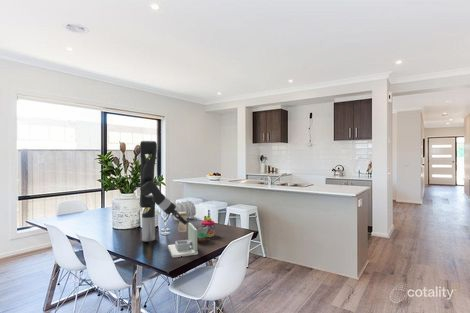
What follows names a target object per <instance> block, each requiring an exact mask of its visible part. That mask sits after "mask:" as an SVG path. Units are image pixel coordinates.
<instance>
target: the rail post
mask: <svg viewBox="0 0 470 313" xmlns="http://www.w3.org/2000/svg"><path fill="white" fill-rule="evenodd" d="M178 213H179V214H180V215H181V217H182V218H183V219H184V220H185V221H186V222H187V219H188V218H187V213H186V212H178ZM180 219H181V218H180ZM177 222H178V224H177V225H178V226H177V227H178V229H177V231H178V232H179V233H185V232H188V230H187V229H188V227H187V226H188V225H187V224H188V222H187V224H186V225H184V224H183V223H182V222H181V221H180V220H179V219H178V220H177Z"/></svg>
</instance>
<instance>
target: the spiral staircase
mask: <svg viewBox="0 0 470 313" xmlns="http://www.w3.org/2000/svg"><path fill="white" fill-rule="evenodd" d="M172 203H173V204H174V205H175V206H176V208H175V209H174V210H177V211H178V212H186V213H187V219H190V218H194V217H195V216H196V214H197V211H196V210H197V208H196V205H195V203H194V202H192V201H191V200H186V201H183V200H181V202H179V201H178V202H177V203H176V202H175V203H174V202H172ZM172 218H173V219H174V221H178V219H176V218H175V217H174V216H173V215H172Z"/></svg>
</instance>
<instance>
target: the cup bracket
mask: <svg viewBox="0 0 470 313" xmlns="http://www.w3.org/2000/svg"><path fill="white" fill-rule="evenodd" d="M187 224H188V225H187V226H188V227H187V229H188V230H187V232H188V234H187V235H188V236H187V238H188V239H185V240H184V239H183V240H175V242H174V243H173V244H169V245H167V249H168V251H169V253H170V255H171V257H172V258H179V257H181V256H182V257H187V256H194V255H199V252H198V242H197V228H196V226H194V225H193V223H191V222H187ZM182 257H181V258H182Z"/></svg>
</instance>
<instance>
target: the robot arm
mask: <svg viewBox="0 0 470 313" xmlns="http://www.w3.org/2000/svg"><path fill="white" fill-rule="evenodd" d="M157 151H158V143H157V141H155V140H141V141H140V143H139V154H140V156H139V157H140V175H139V176H140V177H139V178H140V187H139V190H140V191H139V192H140V195H139V206H140V208H142V209H144V208H147V209H148V208H149V209H148V210H146V211H144V212H142V213H141V241H142V242H152V241H154V240H156V205H157V206H158V207H159V208H160V209H161V210H162V212H164V213H165V214H166V215H167V216H169V215H171V216H172V217H173V216H174V217H175V218H176V219H179V220H180V221H181V222H182V223H183V224H184V225H186V224H188V222H186V221H185V220H184V219H183V218H182V217H181V215H180V214H179V213H178V211H177V210H174V209H175V208H176V206H175V205H174V204H175V203H174V202H172V201H171V200H170V199H169V198H168V197H166V196H165V194H164V193H162V192H161V190H160V188H159V186H158V185H157V184H156V183H155V182H154V179H155V168H156V167H155V165H156V158H157ZM146 155H151V156H150V158H149V159H148V160H147V157H146ZM173 203H174V204H173ZM180 218H181V219H180Z"/></svg>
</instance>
